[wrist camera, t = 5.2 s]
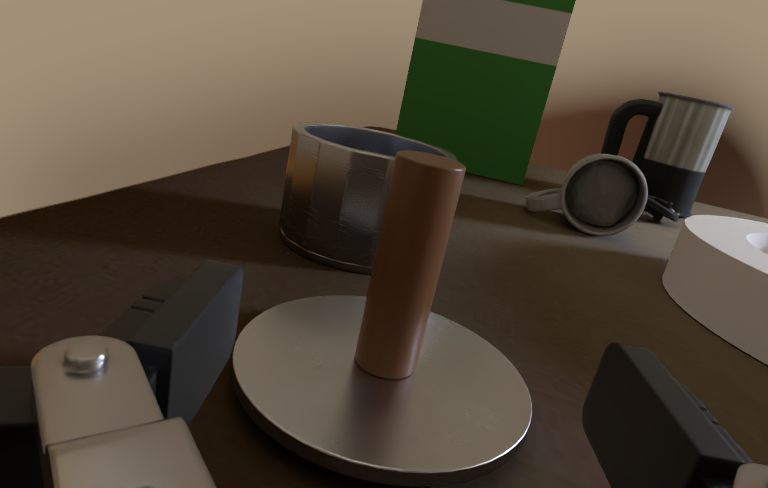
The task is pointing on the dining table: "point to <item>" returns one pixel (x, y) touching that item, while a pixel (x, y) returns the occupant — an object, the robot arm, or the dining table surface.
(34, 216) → the dining table surface
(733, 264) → the ring with crossbar
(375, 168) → the bowl
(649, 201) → the milk frother
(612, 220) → the ceramic mug
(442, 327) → the bowl lid
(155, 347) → the robot arm
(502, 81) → the hardback book
